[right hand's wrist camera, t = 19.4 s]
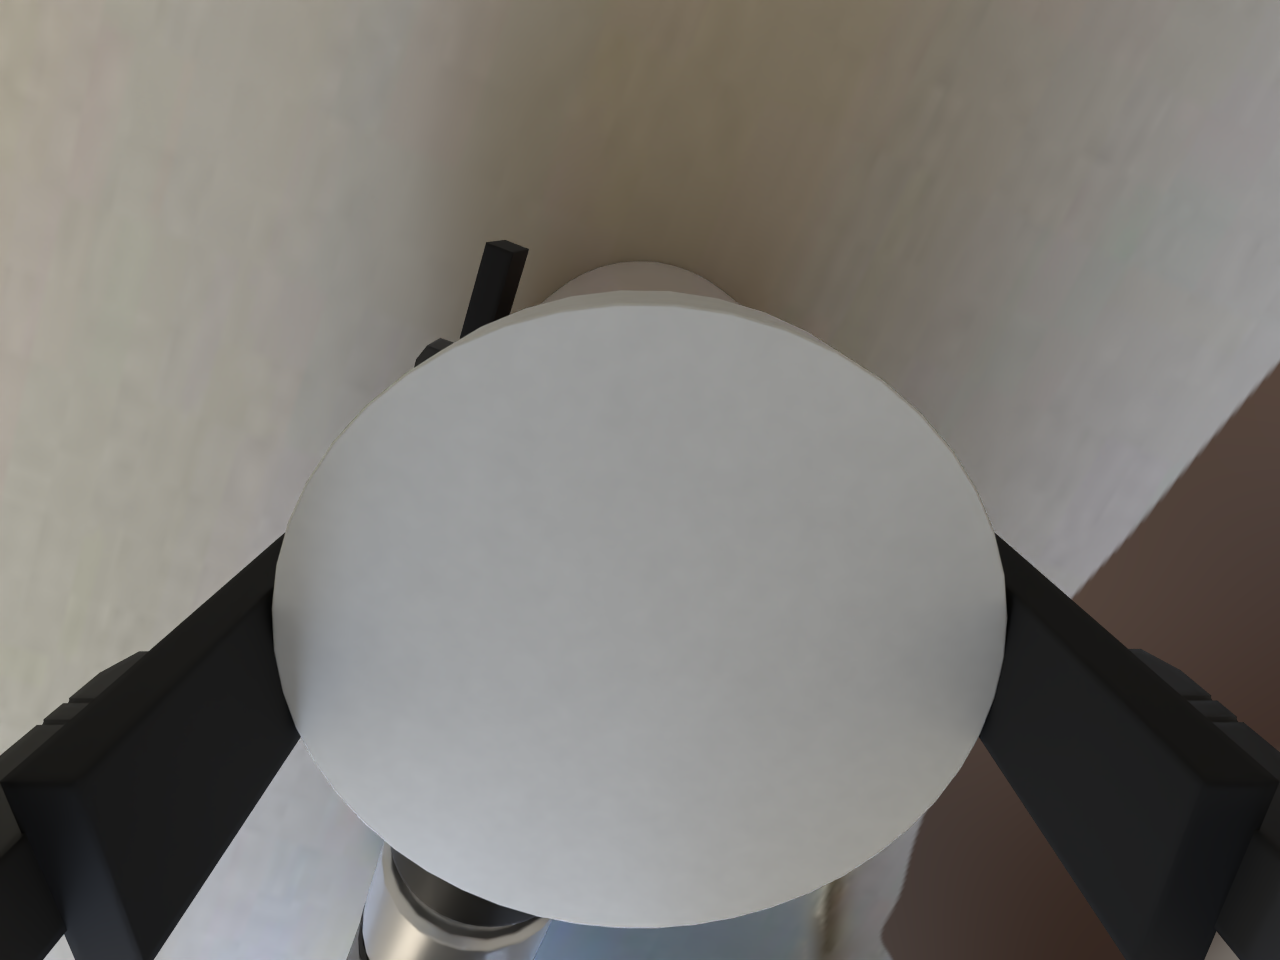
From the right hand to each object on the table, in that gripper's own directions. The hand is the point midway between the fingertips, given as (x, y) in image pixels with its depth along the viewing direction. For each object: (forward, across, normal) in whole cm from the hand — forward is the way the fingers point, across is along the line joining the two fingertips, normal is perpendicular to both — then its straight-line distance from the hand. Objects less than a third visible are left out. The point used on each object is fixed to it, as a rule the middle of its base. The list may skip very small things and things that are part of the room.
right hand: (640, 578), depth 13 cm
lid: (-3, 0, 0) cm, 3 cm away
